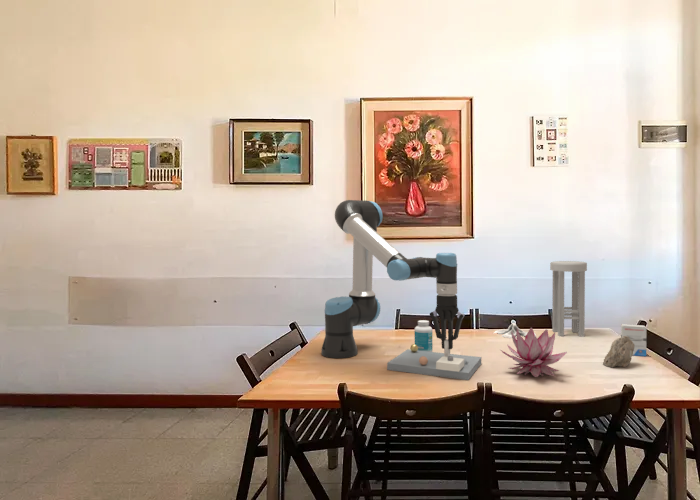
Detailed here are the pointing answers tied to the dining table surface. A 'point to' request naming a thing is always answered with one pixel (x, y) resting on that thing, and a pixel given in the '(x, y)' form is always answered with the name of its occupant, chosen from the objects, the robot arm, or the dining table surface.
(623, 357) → the rock
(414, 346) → the brass ball
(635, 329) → the ink box
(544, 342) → the decorative flower
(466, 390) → the dining table surface
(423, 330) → the pill bottle
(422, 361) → the clay ball
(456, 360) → the cover
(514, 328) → the cloth
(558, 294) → the stool
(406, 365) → the board
